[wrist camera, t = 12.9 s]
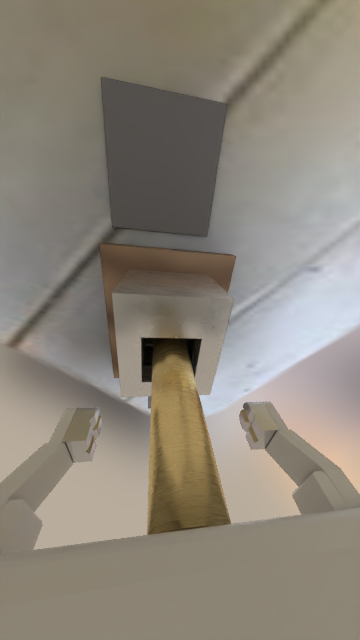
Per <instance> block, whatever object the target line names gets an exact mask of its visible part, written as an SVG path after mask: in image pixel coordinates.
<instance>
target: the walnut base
mask: <svg viewBox="0 0 360 640" xmlns="http://www.w3.org/2000/svg"><path fill="white" fill-rule="evenodd" d="M99 245H100V254H101V263H102V273H103V282H104V291H105V300H106V309H107V318H108V327H109V336H110V345H111V354H112V363H113V372H114V378H119V367H118V356H117V344H116V333H115V322H114V311H113V300H112V292H113V291H114V289H115V288H116V286H117V285H118V284H119V282H120V281H121V279H122V278H123V277H124V275H125V274H126V272H127V271H128V270H129V269H137V270H151V271H164V272H178V273H192V274H206V275H209V276H210V277H211V278H213V279H214V280H215V281H216V282H217V283H218V284H219V285H220V286H221V287H222V288H223V289H224V290H225V291H226V292H227V293H228V289H229V285H230V281H231V276H232V272H233V268H234V263H235V259H236V256H234V255H231V254H221V253H210V252H199V251H188V250H177V249H166V248H155V247H144V246H133V245H122V244H111V243H102V244H99Z"/></svg>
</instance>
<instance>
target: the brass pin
mask: <svg viewBox="0 0 360 640" xmlns="http://www.w3.org/2000/svg"><path fill="white" fill-rule="evenodd" d="M149 457H150V459H149V489H148V520H147V521H148V522H147V535H151V534H159V533H166V532H174V531H181V530H189V529H196V528H204V527H212V526H219V525H227V524H231V522H230V518H229V513H228V510H227V506H226V501H225V498H224V493H223V489H222V485H221V481H220V478H219V473H218V469H217V465H216V461H215V457H214V454H213V449H212V445H211V441H210V437H209V433H208V430H207V425H206V421H205V417H204V413H203V409H202V405H201V401H200V397H199V393H198V389H197V385H196V381H195V377H194V373H193V369H192V365H191V361H190V357H189V353H188V349H187V345H186V341H185V338H153V358H152V390H151V423H150V456H149Z"/></svg>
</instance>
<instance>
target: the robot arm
mask: <svg viewBox="0 0 360 640" xmlns="http://www.w3.org/2000/svg"><path fill="white" fill-rule="evenodd" d="M243 408H244V409H243V410H242V411H241V412H240V415H239V417H240V424H241V426H242V429H244V430H245V431H246V438H247V441H248V443H249V446H250V448H251V450H252V449H265V450H266V451H267V452H268V453H269V455H270V456H271V457H272V458H273V459H274V460H275V461H276V462H277V463H278V464H279V466H280V467H281V468H282V469H283V470H284V471H285V472H286V473H287V474H288V475H289V476H290V478H291V479H292V480H293V481H294V482H295V483H296V484H297V485H298V486H299V487H298V488H297V489H296V490H295V491H294V492H293V495H292V496H293V498H294V500H295V502H296V504H297V506H298V508H299V511H300V513H301V515H295V516H288V517H280V518H273V519H265V520H257V521H249V522H243V523H234V524H227V525H219V526H212V527H204V528H196V529H189V530H181V531H174V532H166V533H159V534H151V535H143V536H136V537H128V538H121V539H113V540H106V541H98V542H90V543H83V544H76V545H68V546H61V547H53V548H45V549H37V550H33V548H34V546H35V543H36V541H37V538H38V535H39V533H40V530H41V527H42V521H41V520H40V519H39V517H38V516H37V515H36V514H35V513H34V512H35V511H36V509H37V508H38V507H39V506H40V504H41V503H42V502H43V501H44V499H45V498H46V497H47V496H48V494H49V493H50V492H51V491H52V490H53V488H54V487H55V486H56V484H57V483H58V482H59V481H60V480H61V478H62V477H63V476H64V474H65V473H66V472H67V471H68V469H69V468H70V467H71V466H72V465H73V463H75V462H84V461H92V459H93V455H94V452H95V448H96V442H95V440H96V439H97V437H98V436H99V434H100V430H101V424H102V419H101V416H100V415H99V413H100V409H99V407H91V408H67V409H66V410H65V412H64V413H63V415H62V417H61V419H60V421H59V423H58V425H57V427H56V429H55V431H54V433H53V435H52V437H51V439H50V441H49V443H46V444H44V445H43V446H42V447H40V448H39V449H38V450H37V451H36V452H35V453H34V454H32V455H31V456H30V457H29V458H28V459H27V460H26V461H24V462H23V463H22V464H21V465H20V466H19V467H18V468H17V469H16V470H14V471H13V472H12V473H11V474H10V475H9V476H8V477H6V478H5V479H4V480H3V481H2V482H1V483H0V640H360V494H359V493H358V492H357V490H356V489H355V488H354V486H353V485H352V484H351V482H350V481H349V479H348V478H347V477H346V475H345V474H344V473H343V471H342V470H341V469H340V468H339V467H338V466H337V465H335V464H334V463H333V462H331V461H330V460H329V459H328V458H326V457H325V456H324V455H323V454H321V453H320V452H319V451H318V450H316V449H315V448H314V447H312V446H311V445H310V444H309V443H307V442H306V441H305V440H304V439H302V438H301V437H300V436H298V435H297V434H296V433H295V432H293V431H292V430H289V429H288V428H287V426H286V425H285V423H284V422H283V420H282V419H281V417H280V415H279V414H278V412H277V411H276V409H275V407H274V406H273V404H272V403H271V402H246V403H244V405H243Z"/></svg>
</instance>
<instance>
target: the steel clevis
mask: <svg viewBox="0 0 360 640" xmlns="http://www.w3.org/2000/svg"><path fill="white" fill-rule="evenodd" d="M112 300H113V311H114V322H115V333H116V344H117V356H118V367H119V378H120V389H121V397H140V396H148V408H151V390H152V358H153V338H185V341H186V345H187V349H188V353H189V357H190V361H191V365H192V369H193V373H194V377H195V381H196V385H197V389H198V393H199V395H210V393H211V389H212V385H213V381H214V377H215V373H216V369H217V365H218V361H219V357H220V353H221V349H222V345H223V342H224V338H225V334H226V330H227V326H228V322H229V318H230V314H231V310H232V306H233V302H234V299H233V298H232V297H231V296H230V295H229V294H228V293H227V292H226V291H225V290H224V289H223V288H222V287H221V286H220V285H219V284H218V283H217V282H216V281H215V280H214V279H213V278H211V277H210V276H209V275H206V274H192V273H178V272H164V271H151V270H137V269H129V270H128V271H127V272H126V274H125V275H124V277H123V278H122V279H121V281H120V282H119V284H118V285H117V286H116V288H115V289H114V291H113V292H112Z"/></svg>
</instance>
